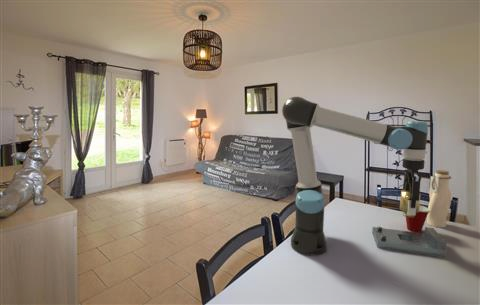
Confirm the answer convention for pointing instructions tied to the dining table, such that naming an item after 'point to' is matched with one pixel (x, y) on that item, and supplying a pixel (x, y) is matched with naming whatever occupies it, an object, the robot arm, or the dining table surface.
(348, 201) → the dining table surface
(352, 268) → the dining table surface
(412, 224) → the plastic cup
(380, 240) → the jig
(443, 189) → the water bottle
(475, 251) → the dining table surface
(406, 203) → the golden knob
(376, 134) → the robot arm
